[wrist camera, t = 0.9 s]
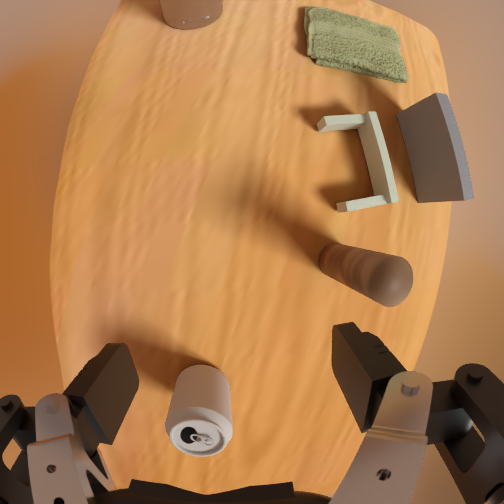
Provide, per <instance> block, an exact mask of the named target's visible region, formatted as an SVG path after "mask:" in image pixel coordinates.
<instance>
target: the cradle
mask: <svg viewBox="0 0 504 504" xmlns="http://www.w3.org/2000/svg"><path fill="white" fill-rule="evenodd" d="M316 125H317V128H318V132H326V131H336V130H349V129H358V132H359V136H360V139H361V143H362V147H363V150H364V154H365V158H366V162H367V166H368V170H369V174H370V179H371V183H372V188H373V193H374V196H371V197H366V198H361V199H355V200H350V201H345V202H340V203H336V205H337V210H338V212H349V211H354V210H359V209H363V208H368V207H373V206H378V205H383V204H388V203H395V202H399V200H398V194H397V189H396V185H395V180H394V175H393V171H392V167H391V163H390V159H389V155H388V151H387V147H386V143H385V140H384V136H383V133H382V130H381V126H380V123H379V120H378V117H377V114H376V111H371V112H367V113H366V114H352V115H334V116H324V117H323V118H322V119H321V120H320V121H319V122H318V123H317V124H316Z"/></svg>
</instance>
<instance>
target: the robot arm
mask: <svg viewBox="0 0 504 504" xmlns="http://www.w3.org/2000/svg"><path fill="white" fill-rule="evenodd" d="M159 2H160V6H161V10H162V14H163V18H164V20H165V22H166V23H167V24H168V25H170V26H171V27H174V28H177V29H196V28H200V27H203V26H206V25H209V24H210V23H212V22H214V21H215V20H216V19H218V17H219V16H220V15H221V13H222V5H223V0H159ZM332 369H333V372H334V375H335V377H336V379H337V381H338V384H339V386H340V388H341V390H342V392H343V394H344V396H345V398H346V400H347V403H348V405H349V407H350V409H351V411H352V413H353V415H354V418H355V420H356V422H357V424H358V426H359V428H360V431H361V433H364V432H367V433H366V435H365V437H364V439H363V442H362V444H361V446H360V448H359V450H358V452H357V454H356V456H355V458H354V460H353V462H352V464H351V466H350V468H349V470H348V471H347V473H346V475H345V477H344V479H343V480H342V482H341V484H340V486H339V487H338V489H337V491H336V492H335V494H334V496H333V497H332V498H331V497H327V496H324V495H320V494H316V493H310V492H303V491H294V489H293V483H292V482H286V483H278V484H269V485H258V486H248V487H244V488H240V489H236V490H231V491H227V492H222V493H217V494H211V495H203V494H199V493H195V492H191V491H188V490H184V489H181V488H177V487H174V486H171V485H168V484H161V483H153V482H146V481H140V480H134V479H132V480H131V483H130V486H129V488H126V489H118V490H117V488H116V486H115V484H114V482H113V480H112V478H111V475H110V473H109V471H108V468H107V466H106V464H105V461H104V459H103V456H102V453H101V451H100V450H99V448H98V445H99V443H104V444H110V445H112V444H113V441H114V439H115V437H116V435H117V433H118V430H119V428H120V426H121V424H122V422H123V420H124V417H125V415H126V413H127V411H128V409H129V407H130V405H131V403H132V400H133V398H134V396H135V394H136V392H137V390H138V387H139V378H138V374H137V371H136V369H135V366H134V363H133V360H132V357H131V355H130V352H129V349H128V347H127V345H126V344H124V343H108V344H106V345H105V347H104V348H103V349H102V350H101V352H100V353H99V354H98V355H97V356H95V357H94V358H92V359H91V360H89V361H88V362H87V364H86V365H85V366H84V367H83V370H81V371H80V372H79V373H78V375H77V376H76V377H75V378H74V380H73V381H72V382H71V383H70V385H69V386H68V387H67V389H66V390H65V391H64V392H63V394H59V393H56V394H49V395H47V396H45V397H43V398H42V399H40V400H39V402H38V403H37V405H36V407H25V406H24V405H23V403H22V401H21V399H20V398H19V397H18V396H17V395H7V396H4V397H2V398H1V399H0V504H410V501H411V498H412V495H413V492H414V489H415V486H416V483H417V480H418V477H419V473H420V470H421V466H422V463H423V459H424V455H425V451H426V446H427V445H429V444H435V446H436V448H437V450H438V451H439V453H440V455H441V457H442V459H443V460H444V462H445V464H446V466H447V468H448V469H449V471H450V473H451V475H452V477H453V479H454V481H455V483H456V485H457V487H458V488H459V490H460V492H461V494H462V496H463V498H464V500H465V502H466V504H504V384H503V383H502V382H501V381H500V380H499V379H498V378H497V377H496V376H495V375H494V374H493V373H492V372H491V371H490V370H489V369H488V368H486V367H485V366H483V365H479V364H465V365H463V366H461V367H460V368H459V369H458V370H457V371H456V374H455V377H454V380H447V381H440V382H432V381H431V380H430V378H429V377H427V376H426V375H424V374H422V373H419V372H415V371H407V370H406V369H405V368H404V367H403V365H402V364H401V363H400V362H399V361H398V360H397V358H396V357H395V356H394V355H393V354H392V353H391V352H389V349H388V348H387V347H386V346H384V343H383V342H382V341H381V340H380V339H379V338H378V337H377V336H375V335H373V334H371V333H369V332H363V333H362V332H361V331H360V330H359V328H358V327H357V326H356V325H355V323H354V322H349V323H343V324H338V325H334V326H333V329H332ZM473 423H474V424H475V425H476V426H477V428H478V429H479V430H480V432H481V433H482V435H483V436H484V439H485V442H484V441H483V440H482V438H481V437H480V436H479V434H478V433H477V431H476V430H475V429H474V427H473V426H472V425H473ZM12 438H13V439H14V440H15V442H16V443H17V444H18V446H19V447H20V448H21V449H22V451H21V453H20V455H19V456H18V458H17V460H16V461H15V463H14V465H13V466H12V468H11V470H9V469H8V468H7V467H6V466H5V464H4V462H3V459H2V454H3V452H4V450H5V448H6V447H7V445H8V444H9V442H10V441H11V439H12Z"/></svg>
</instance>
